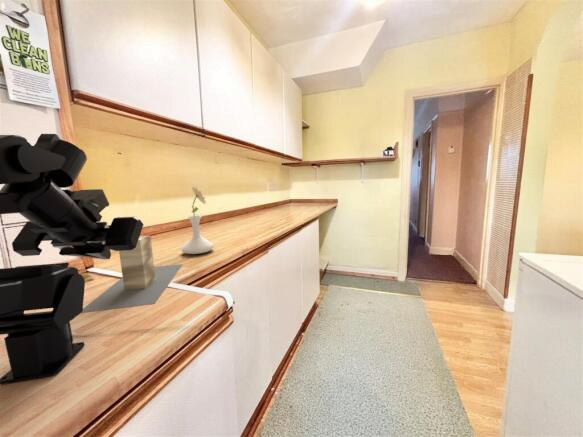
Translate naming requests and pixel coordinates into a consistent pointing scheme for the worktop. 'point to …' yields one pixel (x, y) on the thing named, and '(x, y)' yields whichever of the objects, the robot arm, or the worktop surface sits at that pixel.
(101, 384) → the worktop surface
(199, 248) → the flower in vase
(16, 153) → the robot arm
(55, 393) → the worktop surface
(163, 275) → the rubber mat
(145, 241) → the birch block
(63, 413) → the worktop surface
